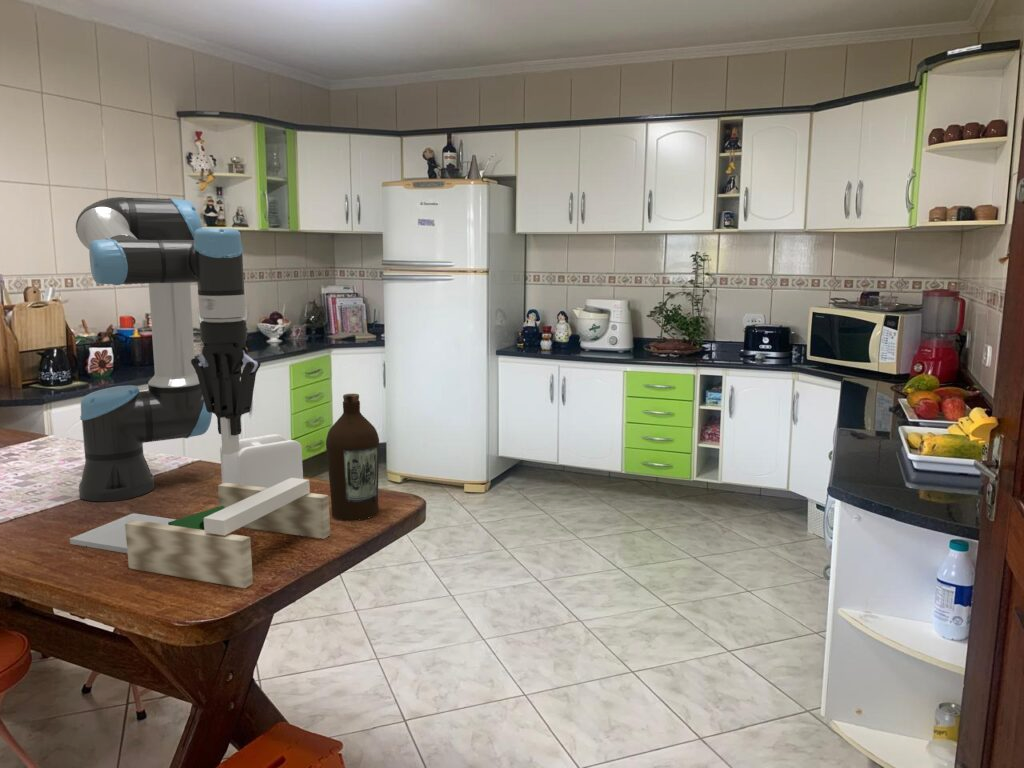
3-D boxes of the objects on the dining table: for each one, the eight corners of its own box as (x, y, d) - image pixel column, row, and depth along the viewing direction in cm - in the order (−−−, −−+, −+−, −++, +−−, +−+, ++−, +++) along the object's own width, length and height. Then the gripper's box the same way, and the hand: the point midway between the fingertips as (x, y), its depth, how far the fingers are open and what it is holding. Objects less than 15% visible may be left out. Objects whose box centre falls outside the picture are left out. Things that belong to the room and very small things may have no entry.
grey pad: (70, 543, 145) (69, 538, 145) (133, 517, 159) (133, 513, 158) (129, 553, 140) (128, 548, 140) (189, 526, 154) (188, 521, 154)
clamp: (194, 577, 141) (179, 542, 136) (174, 562, 144) (159, 528, 139) (248, 535, 149) (236, 502, 143) (228, 522, 151) (216, 488, 146)
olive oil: (321, 511, 163) (316, 393, 159) (368, 502, 169) (364, 388, 165) (341, 526, 154) (336, 402, 150) (389, 515, 160) (386, 396, 156)
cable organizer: (238, 502, 168) (235, 450, 166) (221, 491, 176) (218, 441, 174) (304, 489, 178) (301, 439, 176) (284, 478, 186) (282, 431, 184)
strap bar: (204, 532, 128) (203, 517, 127) (291, 490, 150) (291, 477, 149) (224, 535, 126) (223, 520, 126) (309, 492, 149) (309, 479, 148)
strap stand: (128, 568, 134) (124, 523, 132) (226, 520, 157) (224, 482, 156) (245, 588, 126) (242, 541, 125) (330, 535, 149) (328, 495, 148)
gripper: (176, 320, 133) (186, 454, 137) (240, 322, 129) (248, 461, 133) (206, 316, 140) (214, 444, 144) (268, 318, 136) (275, 450, 140)
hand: (231, 452), depth 138 cm, fingers closed
